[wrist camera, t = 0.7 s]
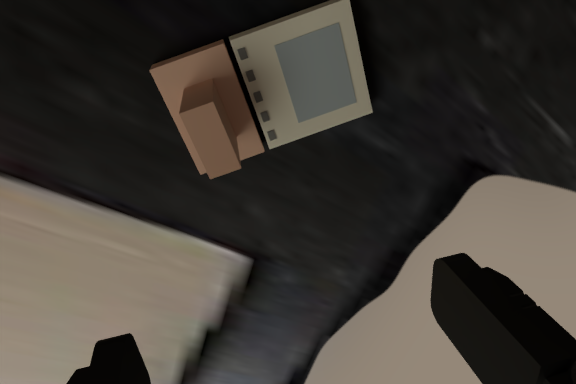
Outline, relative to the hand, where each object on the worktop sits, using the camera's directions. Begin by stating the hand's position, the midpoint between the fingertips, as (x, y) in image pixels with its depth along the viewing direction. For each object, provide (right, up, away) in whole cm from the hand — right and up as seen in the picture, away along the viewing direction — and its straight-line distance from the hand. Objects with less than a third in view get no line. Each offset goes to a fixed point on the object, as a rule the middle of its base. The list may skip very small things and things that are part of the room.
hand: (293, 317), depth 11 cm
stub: (-6, +9, +19) cm, 21 cm away
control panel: (+1, +12, +19) cm, 22 cm away
